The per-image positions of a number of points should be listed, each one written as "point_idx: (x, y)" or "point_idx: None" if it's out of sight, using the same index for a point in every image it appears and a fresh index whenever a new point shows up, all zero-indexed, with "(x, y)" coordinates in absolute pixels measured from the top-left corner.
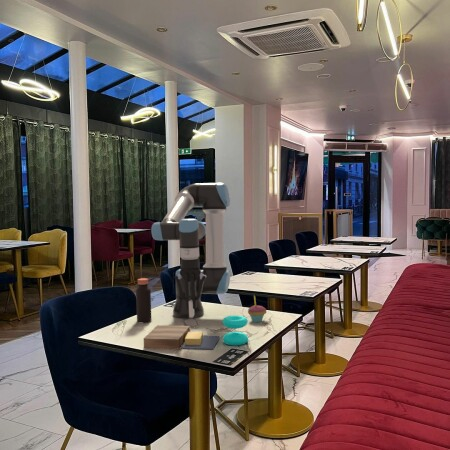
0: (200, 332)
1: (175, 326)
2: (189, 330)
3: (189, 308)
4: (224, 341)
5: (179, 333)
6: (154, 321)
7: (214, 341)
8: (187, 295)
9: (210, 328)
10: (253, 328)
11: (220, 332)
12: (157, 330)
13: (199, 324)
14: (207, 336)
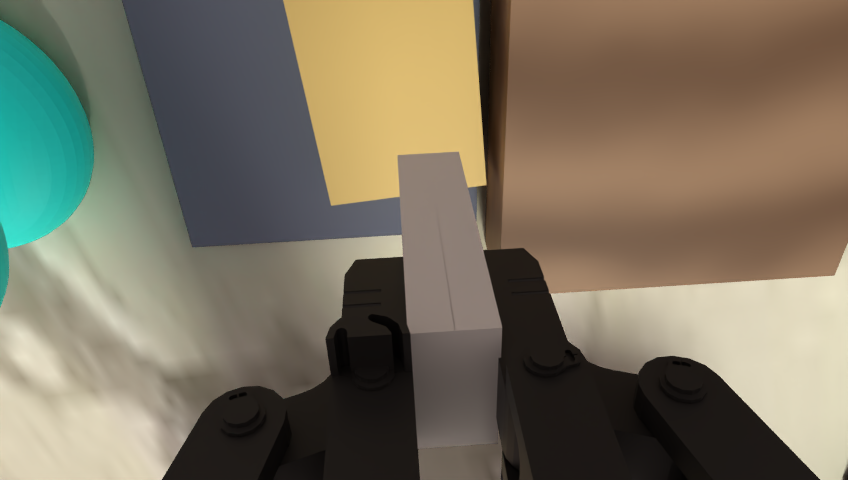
0: (350, 184)
1: (645, 264)
2: None
3: (466, 233)
4: (25, 41)
5: (561, 31)
6: (818, 476)
7: (171, 79)
8: (565, 455)
9: None
10: (25, 454)
11: (244, 344)
12: (840, 109)
13: (473, 469)
14: (303, 213)
